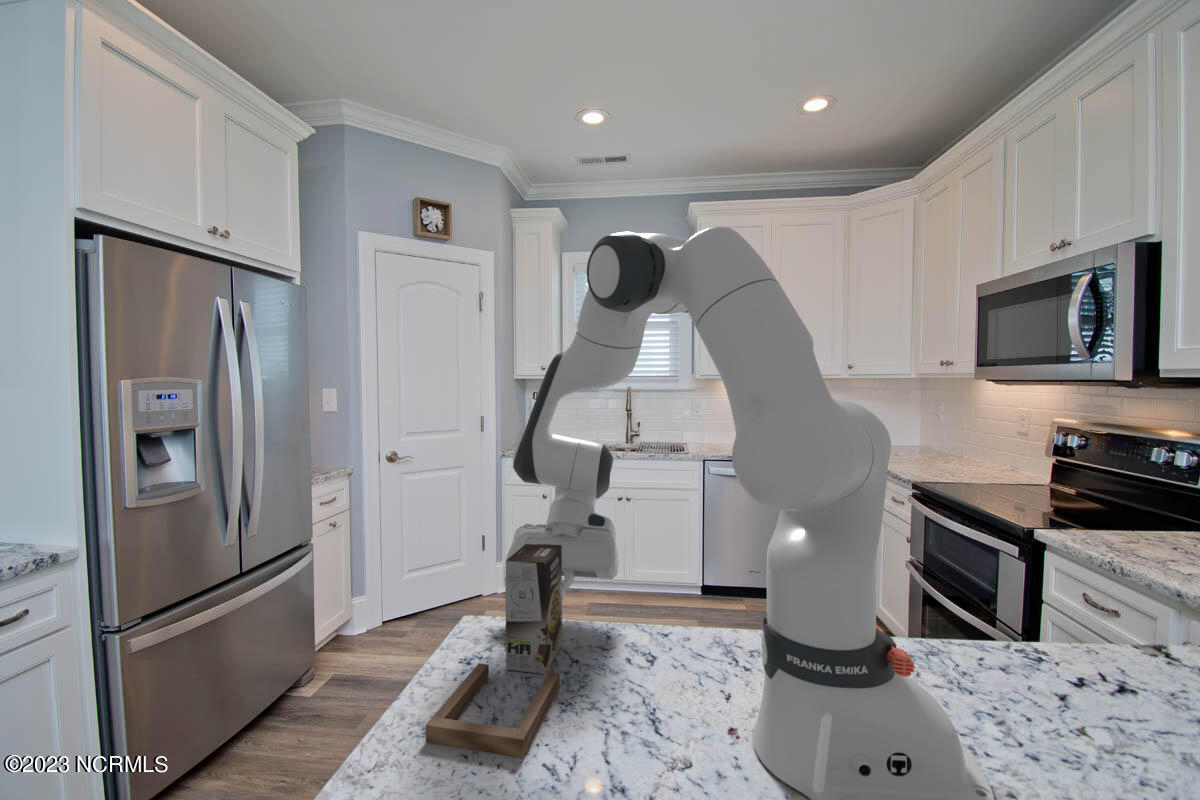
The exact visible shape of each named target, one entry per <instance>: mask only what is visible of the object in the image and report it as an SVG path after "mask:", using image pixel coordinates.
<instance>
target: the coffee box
mask: <svg viewBox="0 0 1200 800" xmlns="http://www.w3.org/2000/svg"><path fill="white" fill-rule="evenodd" d="M562 582H563V576H562V546H561V545H550V544H537V545H535V544H525V545H524V546H523V547H521V548H520V549H519V550H518V551H517V552H516V553H514V554H513V555H512V556H511V557H510V558H508V559H507V560H506V559H505V669H506V671H507V670H509V671H517V672H525V673H534V674H539V675H540V674H541V675H544V674H547V673H548V671H549V668H550V667H551V666H552V663H553V662H554V660H555V658H556V656H557V655H558V652H559V650H560V649H561V647H562V646H563V600H562Z"/></svg>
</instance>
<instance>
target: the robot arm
mask: <svg viewBox="0 0 1200 800" xmlns="http://www.w3.org/2000/svg"><path fill="white" fill-rule="evenodd" d="M586 280H587V285H588V287H587V290H586V292H585V293H586V294H585V295H584V299H583V302H582V305H581V309H580V312H579V316H578V321H577V326H576V332H575V336H574V338H573V340H572V343H570V345H569V346H568V347H567V349H566V350H565V351H564V352H559V353H557V354H555V355H554V357H553V358H552V360H550V361H551V362H550V363H549V364H548V367H547V369H546V372H545V374H544V377H543V380H542V382H541V384H540V388H539V390H538V393H537V395H536V399H535V400H534V404H533V407H532V410H531V412H530V414H529V418H528V420H527V423H526V426H525V428H524V429H525V430H524V432H523V433H522V435H521V436H520V438H519V440H518V441H517V444H516V445H515V448H514V451H513V456H512V468H513V470H514V471H515V474H516V475H517V476H518V477H519V478H520V479H521V480H522V482H523V483H526V484H527V483H528V484H534V485H535V484H537V485H542V484H543V485H546V486H552V487H555V488H554V499H553V500H552V503H551V504H550V507H549V511H548V514H547V519H546V523H545V524H544V523H543V524H540V523H538V524H537V523H536V524H532V523H525V524H524V525H522V526H519V528H517V529H516V530H515V531H514V536H513V541H512V543H511V544H510V545H511V546H510V547H509V550H508V553H507V555H506V559H505V561H506V560H507V559H508V558H510V557H511V556H512V555H513V554H514V553H516V552H517V551H518V550H519V549H520V548H521V547H523V546H524V545H525V544H535V545H537V544H550V545H561V546H562V577H564V580H562V601H564V600H565V595H566V591H568V590H569V588H570V587H571V586H572V585H573V583H574V582H575V578H587V579H601V580H613V579H614V578H616V576H617V575H618V573H619V550H618V545H617V543H616V540H617V539H616V538H617V537H616V536H617V535H616V529H615V526H614V523H613V521H612V519H610V517H608V516H604V515H602V514H599V513H596V512H595V507H596V504H597V502H598V499H600V498H601V497H602V496H604V495H605V494H606V493H607V492H608V490H609V488H610V482H611V472H612V467H613V463H614V457H613V455H612V453H611V451H610V450H609V449H608V447H607V446H606V445H605V444H602V443H601V442H597V441H592V440H588V439H584V438H577V437H572V436H567V435H562V434H557V433H554V432H552V431H551V430H550V429H549V427H550V425H551V423H552V420H553V417H554V414H555V412H556V408H557V407H558V404H559V402H560V401H561V400H562V399H563V398H564V397H566V396H568V395H571V394H574V393H580V392H584V391H590V390H601V389H605V388H609V387H611V386H614V385H617V384H619V383H621V382H623V381H624V380H625V379H627V378H628V377H629V375H630V374H631V373H632V372H633V371H634V369H635V366H636V365H637V361H638V358H639V355H640V352H641V348H642V344H643V340H644V335H645V330H646V327H647V326H646V325H647V323H648V319H649V318H650V317H651V315H652V314H655V315H670V314H672V315H673V314H678V313H679V314H680V313H685V314H686V313H687V314H689V317H690V319H691V321H692V323H693V325H694V327H695V329H696V330H697V333H698V335H699V336H700V338H701V340H702V343H703V344H704V347H705V348H706V350H707V352H708V354H709V356H710V358H711V360H712V362H713V365H714V366H715V368H716V369H717V372H718V374H719V376H720V378H721V380H722V383H723V386H724V388H725V392H726V394H727V398H728V401H729V405H730V410H731V414H732V418H733V424H734V429H735V430H734V431H735V438H734V442H733V445H732V449H731V450H732V452H731V453H732V454H731V461H732V463H731V464H732V467H733V472H734V475H735V477H736V479H737V481H738V483H739V485H740V487H742V489H743V490H744V492H745V493H746V494H747V495H748V496H749V497H750V498H751V499H752V500H754V501H755V502H757V503H759V504H760V505H762V506H763V507H767V508H769V509H773V510H778V511H779V513H778V514H779V515H778V519H777V523H776V525H775V529H774V530H773V531H774V532H773V534H772V536H771V538H770V541H769V543H768V546H767V550H766V612H765V613H766V614H765V615H764V616H763V619H762V629H761V657H762V658H761V662H762V665H763V670H764V678H763V679H764V680H763V689H762V695H761V701H760V707H759V711H758V715H757V716H758V717H757V720H756V723H755V726H754V729H753V732H752V744H753V748H754V750H755V753H756V755H757V756H758V758H759V760H761V762H762V763H763V765H764V766H765V767H766V768H767V769H768V770H769V771H770V772H771V773H772V774H773V775H774V776H775V777H776V778H778V779H779V780H781V781H782V782H784V783H785V784H787V785H788V786H790V787H791V788H793V789H795V790H797V791H798V792H800V793H802V794H803V795H805V796H806V797H807V798H808V799H810V800H995V797H994V793H993V790H992V787H991V785H990V783H989V781H988V778H987V777H986V775H985V774H984V773H983V771H982V769H981V768H980V766H979V765H978V764H977V762H976V761H975V759H974V758H973V757H972V756H971V754H970V753H968V751H967V750H966V749H965V748H964V747H963V746H962V744H961V741H960V738H959V734H958V733H957V730H956V728H955V726H954V724H953V722H952V720H951V718H950V716H948V713H946V711H945V709H943V707H942V706H941V705H940V703H939V702H938V701H937V700H936V699H935V698H934V697H933V696H932V694H930V693H929V692H928V691H927V690H926V689H925V688H923V687H922V686H921V685H919V683H917V682H916V681H914V680H913V679H912V678H910V676H911V675H912V674H913V673H915V669H916V666H915V663H914V661H913V659H912V658H911V657H910V656H909V655H908V653H907V651H905V650H903V649H902V648H898V647H897V644H896V642H895V641H894V639H893V638H892V637H891V636H889V635H888V634H886V633H885V632H884V630H883V628H881V627H880V626H878V625H877V559H878V550H879V544H880V537H881V530H882V524H883V516H884V509H885V502H886V501H885V500H886V491H887V482H888V470H889V469H888V468H889V462H890V457H891V453H892V441H891V440H892V439H891V436H890V434H889V430H888V429H887V427H886V426H885V424H884V423H883V422H882V420H880V419H879V417H878V416H876V415H875V414H874V413H873V412H872V411H870V410H868V409H867V408H866V407H864V406H861V405H859V404H857V403H854V402H851V401H846V400H835V399H834V398H833V396H832V395H831V394H830V391H829V389H828V387H827V385H826V383H825V381H824V378H823V375H822V372H821V370H820V367H819V364H818V361H817V358H816V354H815V352H814V339H813V337H812V335H811V333H810V331H809V330H808V328H807V327H806V325H805V323H804V322H803V320H802V319H801V317H800V315H799V313H798V312H797V310H796V309H795V307H794V305H793V304H792V301H790V299H789V297H788V295H787V294H786V292H785V291H784V289H783V287H782V285H781V284H780V283H779V281H778V279H777V278H776V277H775V275H774V273H773V272H772V271H771V269H770V268H769V266H768V265H767V264H766V262H765V260H764V259H763V258H762V257H761V255H760V254H759V253H758V252H757V251H756V250H755V248H753V246H752V245H751V244H750V243H749V242H748V241H747V240H746V239H745V238H744V237H743V236H742V235H741V234H740V233H739V232H738V231H737V230H735V229H733V228H730V227H727V226H712V227H708V228H705V229H703V230H701V231H698V232H697V233H695V234H694V235H692V236H691V237H690V238H689V239H688V238H684V237H679V236H673V235H669V234H666V233H657V232H656V233H651V232H650V233H648V232H645V233H644V232H641V233H636V232H632V231H622V232H616V233H612V234H608V235H604V237H602V238H600V239H599V240H597V242H596V243H595V245H594V247H593V248H592V251H591V253H590V255H589V257H588V260H587V266H586Z"/></svg>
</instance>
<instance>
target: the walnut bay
mask: <svg viewBox="0 0 1200 800" xmlns="http://www.w3.org/2000/svg"><path fill="white" fill-rule="evenodd" d="M489 671H490V670H489V664H488V663H487V664H486V663H478V664H477V665H476V666H475V667H474V668H473V669H472V670H471V672H470V673H469V674H468V675H467V676H466V678H465V679H464V680H463V681H462V682H461V683H460V684H459V686H457V688H456V689H455V690H454V692H452V693H451V694H450V695H449V697H448V699H446V701H444V703H443V704H442V705H441V706H440V707H439V709H438V710H437V711H436V712H435V713H434V714H433V716H432V717H431V718H430V719H429V720H428V721H427V722H426V724H425V743H428V744H435V745H442V746H449V747H454V748H455V747H456V748H461V749H465V750H466V749H468V750H471V751H472V750H473V751H479V752H486V753H492V754H500V755H506V756H510V755H511V756H512V757H516V756H517V758H524V757H525V756H526V754H527V752H528V750H529V748H530V746H531V744H532V742H533V740H534V738H535V736H536V734H537V733H538V731H539V729H540V726H541V725H542V723H543V721H544V719H545V717H546V715H547V713H548V712H549V709H550V707H551V706H552V704H553V702H554V700H555V698H556V695H557V694H558V692H559V690H560V687H561V680H560V679H561V676H560V675H561V674H560V672H557V671H556V672H555V671H548V672H547V675H546V676H545V678H544V679H543V681H542V683H541V685H540V687H539V689H538V690H537V692H536V693H535V695H534V697H533V698H532V700H531V702H530V704H529V705H528V707H527V708H526V711H525V712H524V714H523V716H522V717H521V718H520V721H519V722H518V724H517V726H516V728H512V727H506V726H499V725H492V724H485V723H478V722H470V721H465V720H458V718H460V716H461V715H462V713H464V711H465V710H466V708H467V707H468V706H469V704H470V703H471V702H472V701H473V699H474V698H475V696H476V695H477V694H478V693H479V692H480V691H481V689H482V688H483V687H484V685H485V684H486V683H487V681H488V680H489V678H490V675H489V673H490V672H489Z"/></svg>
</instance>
